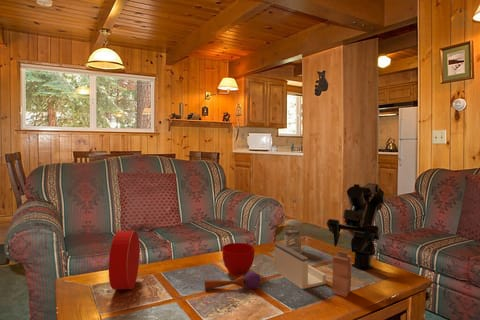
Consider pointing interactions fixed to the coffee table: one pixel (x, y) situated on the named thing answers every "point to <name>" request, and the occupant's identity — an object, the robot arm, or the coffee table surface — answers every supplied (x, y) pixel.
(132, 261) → the toy clock
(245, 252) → the ceramic cup
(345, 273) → the block
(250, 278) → the kendama
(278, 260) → the cleat board
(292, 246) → the french press
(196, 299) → the coffee table surface
